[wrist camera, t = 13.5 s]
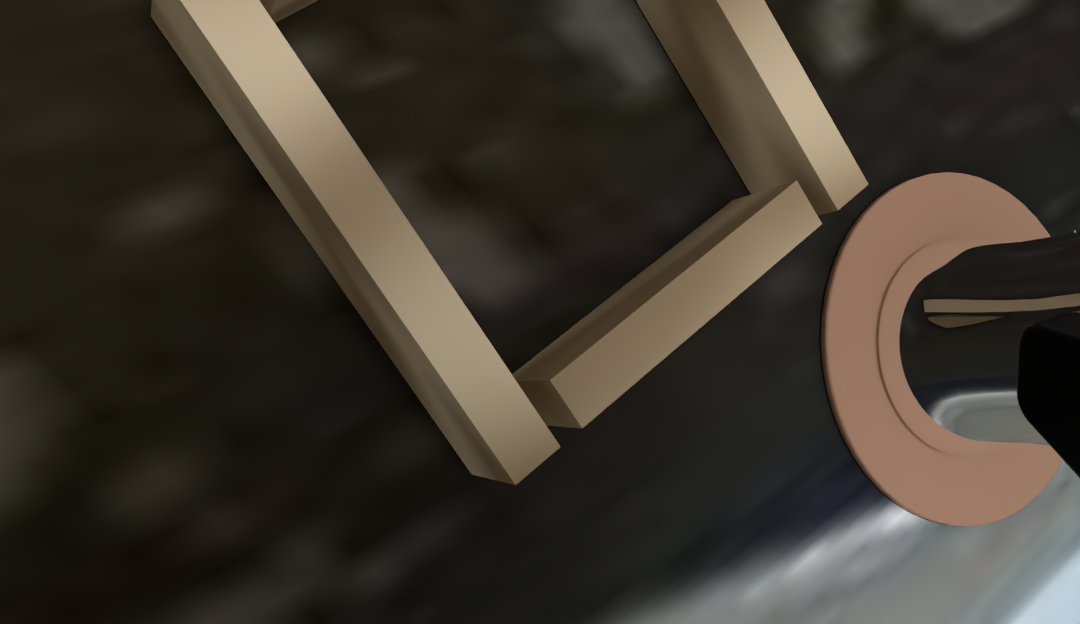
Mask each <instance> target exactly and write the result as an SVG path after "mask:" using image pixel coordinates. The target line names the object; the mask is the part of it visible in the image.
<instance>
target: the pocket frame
mask: <svg viewBox="0 0 1080 624" xmlns="http://www.w3.org/2000/svg"><path fill="white" fill-rule="evenodd" d="M316 1H318V0H152V6H151V18H152V19H153V20H154V22H155V23H156V25H157V26H158V28H159V29H160V30H161V32H162V33H163V35H164V36H165V38H166V39H167V40H168V42H169V43H170V45H171V46H172V47H173V49H174V50H175V52H176V53H177V55H178V56H179V57H180V59H181V60H182V62H183V63H184V65H185V66H186V67H187V69H188V70H189V72H190V73H191V75H192V76H193V77H194V79H195V80H196V82H197V83H198V85H199V86H200V87H201V89H202V90H203V92H204V93H205V95H206V96H207V97H208V99H209V100H210V102H211V103H212V105H213V106H214V107H215V109H216V110H217V112H218V113H219V115H220V116H221V117H222V119H223V120H224V122H225V123H226V125H227V126H228V127H229V129H230V130H231V132H232V133H233V135H234V136H235V137H236V139H237V140H238V142H239V143H240V145H241V146H242V147H243V149H244V150H245V152H246V153H247V155H248V156H249V157H250V159H251V160H252V162H253V163H254V165H255V166H256V167H257V169H258V170H259V172H260V173H261V175H262V176H263V177H264V179H265V180H266V182H267V183H268V185H269V186H270V187H271V189H272V190H273V192H274V193H275V195H276V196H277V197H278V199H279V200H280V202H281V203H282V205H283V206H284V207H285V209H286V210H287V212H288V213H289V214H290V216H291V217H292V219H293V220H294V222H295V223H296V224H297V226H298V227H299V229H300V230H301V232H302V233H303V234H304V236H305V237H306V239H307V240H308V242H309V243H310V244H311V246H312V247H313V249H314V250H315V252H316V253H317V254H318V256H319V257H320V259H321V260H322V262H323V263H324V264H325V266H326V267H327V269H328V270H329V272H330V273H331V274H332V276H333V277H334V279H335V280H336V282H337V283H338V284H339V286H340V287H341V289H342V290H343V292H344V293H345V294H346V296H347V297H348V299H349V300H350V302H351V303H352V304H353V306H354V307H355V309H356V310H357V312H358V313H359V314H360V316H361V317H362V319H363V320H364V322H365V323H366V324H367V326H368V327H369V329H370V330H371V332H372V333H373V334H374V336H375V337H376V339H377V340H378V342H379V343H380V344H381V346H382V347H383V349H384V350H385V352H386V353H387V354H388V356H389V357H390V359H391V360H392V362H393V363H394V364H395V366H396V367H397V369H398V370H399V372H400V373H401V374H402V376H403V377H404V379H405V380H406V381H407V383H408V384H409V386H410V387H411V389H412V390H413V391H414V393H415V394H416V396H417V397H418V399H419V400H420V401H421V403H422V404H423V406H424V407H425V409H426V410H427V411H428V413H429V414H430V416H431V417H432V419H433V420H434V421H435V423H436V424H437V426H438V427H439V429H440V430H441V431H442V433H443V434H444V436H445V437H446V439H447V440H448V441H449V443H450V444H451V446H452V447H453V449H454V450H455V451H456V453H457V454H458V456H459V457H460V459H461V460H462V461H463V463H464V464H465V466H466V467H467V469H468V470H469V471H470V473H471V474H472V475H476V476H480V477H484V478H488V479H492V480H497V481H501V482H505V483H509V484H513V485H516V484H518V483H519V482H520V481H521V480H522V479H524V478H525V477H526V476H527V475H528V474H529V473H531V472H532V471H533V470H534V469H535V468H536V467H538V466H539V465H540V464H541V463H542V462H543V461H545V460H546V459H547V458H548V457H549V456H551V455H552V454H553V453H554V452H555V451H556V450H558V449H559V448H560V445H559V444H558V442H557V441H556V439H555V438H554V436H553V435H552V433H551V432H550V430H549V429H548V427H547V426H559V427H572V428H583V427H585V426H586V425H587V424H588V423H589V422H590V421H592V420H593V419H594V418H595V417H596V416H597V415H599V414H600V413H601V412H602V411H603V410H604V409H606V408H607V407H608V406H609V405H610V404H611V403H613V402H614V401H615V400H616V399H617V398H619V397H620V396H621V395H622V394H623V393H624V392H626V391H627V390H628V389H629V388H630V387H631V386H633V385H634V384H635V383H636V382H637V381H638V380H640V379H641V378H642V377H643V376H644V375H645V374H647V373H648V372H649V371H650V370H651V369H653V368H654V367H655V366H656V365H657V364H658V363H660V362H661V361H662V360H663V359H664V358H665V357H667V356H668V355H669V354H670V353H671V352H672V351H674V350H675V349H676V348H677V347H678V346H679V345H681V344H682V343H683V342H684V341H685V340H687V339H688V338H689V337H690V336H691V335H692V334H694V333H695V332H696V331H697V330H698V329H699V328H701V327H702V326H703V325H704V324H705V323H706V322H708V321H709V320H710V319H711V318H712V317H714V316H715V315H716V314H717V313H718V312H719V311H721V310H722V309H723V308H724V307H725V306H726V305H728V304H729V303H730V302H731V301H732V300H733V299H735V298H736V297H737V296H738V295H739V294H740V293H742V292H743V291H744V290H745V289H746V288H748V287H749V286H750V285H751V284H752V283H753V282H755V281H756V280H757V279H758V278H759V277H760V276H762V275H763V274H764V273H765V272H766V271H767V270H769V269H770V268H771V267H772V266H773V265H774V264H776V263H777V262H778V261H779V260H780V259H782V258H783V257H784V256H785V255H786V254H787V253H789V252H790V251H791V250H792V249H793V248H794V247H796V246H797V245H798V244H799V243H800V242H801V241H803V240H804V239H805V238H806V237H807V236H808V235H810V234H811V233H812V232H813V231H814V230H816V229H817V228H818V227H819V226H820V225H821V224H822V223H821V221H820V219H819V217H818V215H822V214H826V213H830V212H833V211H837V210H839V209H840V208H841V207H843V206H844V205H845V204H846V203H847V202H848V201H850V200H851V199H852V198H853V197H854V196H855V195H857V194H858V193H859V192H860V191H861V190H862V189H864V188H865V187H866V186H867V185H868V182H867V181H866V179H865V177H864V175H863V174H862V172H861V170H860V168H859V167H858V165H857V163H856V161H855V160H854V158H853V156H852V154H851V153H850V151H849V149H848V147H847V145H846V144H845V142H844V140H843V138H842V137H841V135H840V133H839V131H838V130H837V128H836V126H835V124H834V123H833V121H832V119H831V117H830V115H829V114H828V112H827V110H826V108H825V107H824V105H823V103H822V101H821V100H820V98H819V96H818V94H817V93H816V91H815V89H814V87H813V86H812V84H811V82H810V80H809V78H808V77H807V75H806V73H805V71H804V70H803V68H802V66H801V64H800V63H799V61H798V59H797V57H796V56H795V54H794V52H793V50H792V49H791V47H790V45H789V43H788V41H787V40H786V38H785V36H784V34H783V33H782V31H781V29H780V27H779V26H778V24H777V22H776V20H775V19H774V17H773V15H772V13H771V12H770V10H769V8H768V6H767V4H766V3H765V1H764V0H636V2H637V4H638V5H639V7H640V9H641V10H642V12H643V14H644V15H645V17H646V19H647V21H648V22H649V24H650V26H651V27H652V29H653V31H654V32H655V34H656V36H657V37H658V39H659V41H660V42H661V44H662V46H663V47H664V49H665V51H666V52H667V54H668V56H669V58H670V59H671V61H672V63H673V64H674V66H675V68H676V69H677V71H678V73H679V74H680V76H681V78H682V79H683V81H684V83H685V84H686V86H687V88H688V89H689V91H690V93H691V95H692V96H693V98H694V100H695V101H696V103H697V105H698V106H699V108H700V110H701V111H702V113H703V115H704V116H705V118H706V120H707V121H708V123H709V125H710V126H711V128H712V130H713V131H714V133H715V135H716V137H717V138H718V140H719V142H720V143H721V145H722V147H723V148H724V150H725V152H726V153H727V155H728V157H729V158H730V160H731V162H732V163H733V165H734V167H735V168H736V170H737V172H738V174H739V175H740V177H741V179H742V180H743V182H744V184H745V185H746V187H747V189H748V190H749V192H750V194H751V195H748V196H745V197H741V198H738V199H735V200H732V201H731V202H729V203H728V204H727V205H726V206H724V207H723V208H722V209H721V210H719V211H718V212H717V213H716V214H714V215H713V216H712V217H710V218H709V219H708V220H707V221H705V222H704V223H703V224H702V225H700V226H699V227H698V228H697V229H695V230H694V231H693V232H692V233H690V234H689V235H688V236H686V237H685V238H684V239H683V240H681V241H680V242H679V243H678V244H676V245H675V246H674V247H673V248H671V249H670V250H669V251H667V252H666V253H665V254H664V255H662V256H661V257H660V258H659V259H657V260H656V261H655V262H654V263H652V264H651V265H650V266H648V267H647V268H646V269H645V270H643V271H642V272H641V273H640V274H638V275H637V276H636V277H635V278H633V279H632V280H631V281H629V282H628V283H627V284H626V285H624V286H623V287H622V288H621V289H619V290H618V291H617V292H616V293H614V294H613V295H612V296H611V297H609V298H608V299H607V300H605V301H604V302H603V303H602V304H600V305H599V306H598V307H597V308H595V309H594V310H593V311H592V312H590V313H589V314H588V315H586V316H585V317H584V318H583V319H581V320H580V321H579V322H578V323H576V324H575V325H574V326H573V327H571V328H570V329H569V330H567V331H566V332H565V333H564V334H562V335H561V336H560V337H559V338H557V339H556V340H555V341H554V342H552V343H551V344H550V345H549V346H547V347H546V348H545V349H543V350H542V351H541V352H540V353H538V354H537V355H536V356H535V357H533V358H532V359H531V360H530V361H528V362H527V363H526V364H524V365H523V366H522V367H521V368H519V369H518V370H517V371H516V372H514V373H513V374H511V373H510V371H509V370H508V368H507V367H506V365H505V364H504V362H503V361H502V359H501V358H500V356H499V355H498V353H497V352H496V350H495V349H494V347H493V346H492V344H491V343H490V341H489V340H488V338H487V337H486V335H485V334H484V333H483V331H482V330H481V328H480V327H479V325H478V324H477V322H476V321H475V319H474V318H473V316H472V315H471V313H470V312H469V310H468V309H467V307H466V306H465V304H464V303H463V301H462V300H461V298H460V297H459V295H458V294H457V293H456V291H455V290H454V288H453V287H452V285H451V284H450V282H449V281H448V279H447V278H446V276H445V275H444V273H443V272H442V270H441V269H440V267H439V266H438V264H437V263H436V261H435V260H434V258H433V257H432V255H431V254H430V253H429V251H428V250H427V248H426V247H425V245H424V244H423V242H422V241H421V239H420V238H419V236H418V235H417V233H416V232H415V230H414V229H413V227H412V226H411V224H410V223H409V221H408V220H407V218H406V217H405V215H404V214H403V213H402V211H401V210H400V208H399V207H398V205H397V204H396V202H395V201H394V199H393V198H392V196H391V195H390V193H389V192H388V190H387V189H386V187H385V186H384V184H383V183H382V181H381V180H380V178H379V177H378V175H377V174H376V173H375V171H374V170H373V168H372V167H371V165H370V164H369V162H368V161H367V159H366V158H365V156H364V155H363V153H362V152H361V150H360V149H359V147H358V146H357V144H356V143H355V141H354V140H353V138H352V137H351V135H350V134H349V133H348V131H347V130H346V128H345V127H344V125H343V124H342V122H341V121H340V119H339V118H338V116H337V115H336V113H335V112H334V110H333V109H332V107H331V106H330V104H329V103H328V101H327V100H326V98H325V97H324V95H323V94H322V93H321V91H320V90H319V88H318V87H317V85H316V84H315V82H314V81H313V79H312V78H311V76H310V75H309V73H308V72H307V70H306V69H305V67H304V66H303V64H302V63H301V61H300V60H299V58H298V57H297V55H296V54H295V53H294V51H293V50H292V48H291V47H290V45H289V44H288V42H287V41H286V39H285V38H284V36H283V35H282V33H281V32H280V30H279V29H278V27H277V26H276V24H275V23H276V22H278V21H280V20H282V19H284V18H286V17H288V16H289V15H291V14H293V13H295V12H297V11H299V10H301V9H303V8H305V7H306V6H308V5H310V4H312V3H314V2H316ZM546 425H547V426H546Z"/></svg>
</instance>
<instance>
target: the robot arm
mask: <svg viewBox="0 0 1080 624" xmlns="http://www.w3.org/2000/svg"><path fill="white" fill-rule="evenodd" d="M1017 399H1018V404H1019V406H1020V409H1021V411H1022V413H1023V415H1024V416H1025V418H1026V419H1027V421H1028V422H1029V423H1030V424H1031V425H1032V426H1033V427H1034V428H1035V430H1036V431H1037V432H1038V433H1039V434H1040V435H1041V436H1042V437H1043V438H1044V439H1045V441H1046V442H1047V443H1048V444H1049V445H1050V446H1051V447H1052V448H1053V449H1054V450H1055V451H1056V453H1057V454H1058V455H1059V456H1060V457H1061V458H1062V459H1063V460H1064V461H1065V462H1066V463H1067V465H1068V466H1069V467H1070V468H1071V469H1072V470H1073V471H1074V472H1075V473H1076V474H1077V475H1078V477H1079V478H1080V314H1072V313H1062V314H1057V315H1054V316H1051V317H1048V318H1045V319H1042V320H1039V321H1036V322H1034V323H1031V324H1029V325H1028V326H1026V327H1025V328H1024V329H1023V331H1022V333H1021V335H1020V339H1019V355H1018V379H1017Z"/></svg>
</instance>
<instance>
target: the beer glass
mask: <svg viewBox="0 0 1080 624" xmlns="http://www.w3.org/2000/svg"><path fill="white" fill-rule="evenodd" d="M1062 313H1072V314H1080V231H1077V232H1076V230H1074V232H1073V233H1069V234H1064V235H1060V236H1055V237H1047V238H1040V239H1032V240H994V239H971V238H956V239H946V240H941V241H937V242H934V243H932V244H930V245H927V246H925V247H923V248H922V249H920V250H919V251H917V252H916V253H914V254H913V255H912V256H911V257H910V258H909V259H908V260H907V261H906V262H905V263H904V264H903V265H902V266H901V268H900V269H899V270H898V272H897V273H896V275H895V276H894V278H893V280H892V282H891V284H890V286H889V288H888V290H887V293H886V296H885V299H884V302H883V305H882V310H881V314H880V320H879V329H878V352H879V361H880V367H881V372H882V376H883V380H884V383H885V386H886V389H887V392H888V394H889V397H890V399H891V401H892V403H893V405H894V407H895V409H896V411H897V413H898V414H899V416H900V417H901V419H902V420H903V422H904V423H905V424H906V425H907V427H908V428H909V429H910V430H911V431H912V432H913V433H914V434H915V435H916V436H917V437H918V438H919V439H920V440H922V441H923V442H924V443H926V444H927V445H929V446H931V447H932V448H935V449H937V450H939V451H942V452H945V453H948V454H951V455H957V456H980V455H988V454H994V453H1001V452H1007V451H1013V450H1020V449H1028V448H1037V447H1051V446H1050V445H1049V444H1048V443H1047V442H1046V441H1045V439H1044V438H1043V437H1042V436H1041V435H1040V434H1039V433H1038V432H1037V431H1036V430H1035V428H1034V427H1033V426H1032V425H1031V424H1030V423H1029V422H1028V421H1027V419H1026V418H1025V416H1024V415H1023V413H1022V411H1021V409H1020V406H1019V404H1018V399H1017V379H1018V355H1019V339H1020V335H1021V333H1022V331H1023V329H1024V328H1025V327H1026V326H1028V325H1029V324H1031V323H1034V322H1036V321H1039V320H1042V319H1045V318H1048V317H1051V316H1054V315H1057V314H1062Z"/></svg>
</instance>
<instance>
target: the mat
mask: <svg viewBox="0 0 1080 624" xmlns="http://www.w3.org/2000/svg"><path fill="white" fill-rule="evenodd" d="M1047 237H1050V235H1049V234H1048V232H1047V231H1046V230H1045V228H1044V227H1043V226H1042V224H1041V223H1040V222H1039V220H1038V219H1037V218H1036V217H1035V216H1034V215H1033V214H1032V213H1031V212H1030V211H1029V209H1028V208H1027V207H1026V206H1025V205H1024V204H1022V203H1021V202H1020V201H1019V200H1018V199H1016V198H1015V197H1014V196H1013V195H1011V194H1010V193H1009V192H1007V191H1005V190H1004V189H1002V188H1000V187H999V186H997V185H996V184H993V183H991V182H989V181H986V180H984V179H982V178H979V177H975V176H971V175H967V174H963V173H950V172H944V173H935V174H928V175H924V176H921V177H917V178H914V179H911V180H907V181H904V182H903V183H901V184H899V185H897V186H895V187H893V188H891V189H889V190H888V191H886V192H885V193H883V194H882V195H881V196H879V197H878V198H877V199H875V200H874V201H873V202H872V203H871V204H870V205H869V206H868V207H867V208H866V209H865V210H864V211H863V212H862V213H861V215H860V216H859V217H858V219H857V220H856V222H855V223H854V224H853V226H852V227H851V228H850V230H849V231H848V233H847V235H846V237H845V239H844V241H843V242H842V244H841V246H840V248H839V250H838V253H837V255H836V258H835V261H834V263H833V266H832V268H831V272H830V275H829V279H828V283H827V287H826V291H825V296H824V303H823V310H822V319H821V354H822V367H823V373H824V379H825V385H826V390H827V394H828V397H829V401H830V405H831V408H832V412H833V415H834V417H835V420H836V422H837V425H838V427H839V430H840V432H841V435H842V437H843V439H844V441H845V443H846V444H847V446H848V448H849V450H850V452H851V454H852V456H853V457H854V459H855V460H856V462H857V463H858V464H859V466H860V467H861V469H862V470H863V472H864V473H865V474H866V476H867V477H868V478H869V479H870V480H871V481H872V482H873V483H874V484H875V486H876V487H877V488H878V489H879V490H880V491H881V492H882V493H884V494H885V495H886V496H887V497H888V498H890V499H891V500H892V501H893V502H894V503H896V504H897V505H899V506H900V507H902V508H904V509H905V510H907V511H909V512H910V513H912V514H914V515H917V516H919V517H922V518H924V519H927V520H929V521H934V522H938V523H943V524H948V525H954V526H976V525H983V524H989V523H992V522H995V521H998V520H1001V519H1004V518H1006V517H1008V516H1010V515H1011V514H1013V513H1015V512H1017V511H1019V510H1020V509H1022V508H1023V507H1024V506H1025V505H1027V504H1028V503H1029V502H1031V501H1032V500H1033V499H1034V498H1035V497H1036V496H1037V495H1038V494H1039V493H1040V492H1041V491H1042V490H1043V489H1044V488H1045V487H1046V485H1047V484H1048V483H1049V481H1050V480H1051V479H1052V477H1053V476H1054V474H1055V473H1056V472H1057V470H1058V468H1059V467H1060V465H1061V463H1062V461H1063V459H1062V458H1061V457H1060V456H1059V455H1058V454H1057V453H1056V451H1055V450H1054V449H1053V448H1052V447H1037V448H1028V449H1020V450H1013V451H1007V452H1001V453H994V454H988V455H980V456H957V455H951V454H948V453H945V452H942V451H939V450H937V449H935V448H932V447H931V446H929V445H927V444H926V443H924V442H923V441H922V440H920V439H919V438H918V437H917V436H916V435H915V434H914V433H913V432H912V431H911V430H910V429H909V428H908V427H907V425H906V424H905V423H904V422H903V420H902V419H901V417H900V416H899V414H898V413H897V411H896V409H895V407H894V405H893V403H892V401H891V399H890V397H889V394H888V392H887V389H886V386H885V383H884V380H883V376H882V372H881V367H880V361H879V352H878V329H879V320H880V314H881V310H882V305H883V302H884V299H885V296H886V293H887V290H888V288H889V286H890V284H891V282H892V280H893V278H894V276H895V275H896V273H897V272H898V270H899V269H900V268H901V266H902V265H903V264H904V263H905V262H906V261H907V260H908V259H909V258H910V257H911V256H912V255H913V254H914V253H916V252H917V251H919V250H920V249H922V248H923V247H925V246H927V245H930V244H932V243H934V242H937V241H941V240H946V239H956V238H971V239H994V240H1032V239H1040V238H1047Z"/></svg>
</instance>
